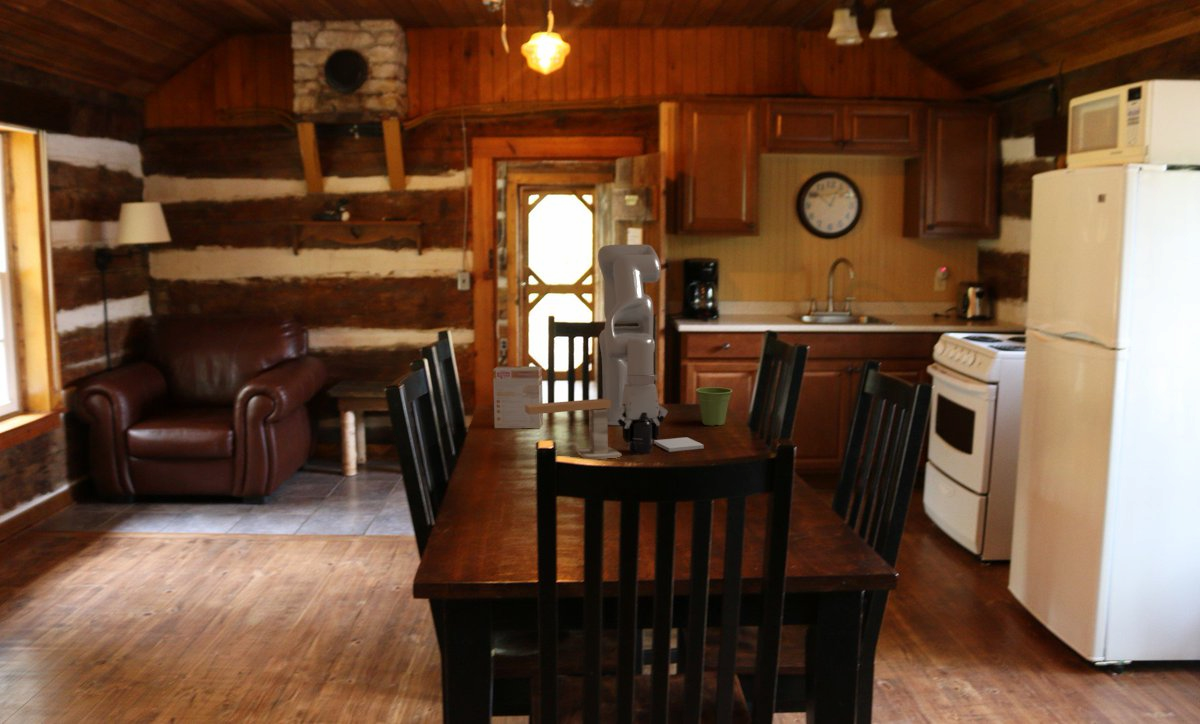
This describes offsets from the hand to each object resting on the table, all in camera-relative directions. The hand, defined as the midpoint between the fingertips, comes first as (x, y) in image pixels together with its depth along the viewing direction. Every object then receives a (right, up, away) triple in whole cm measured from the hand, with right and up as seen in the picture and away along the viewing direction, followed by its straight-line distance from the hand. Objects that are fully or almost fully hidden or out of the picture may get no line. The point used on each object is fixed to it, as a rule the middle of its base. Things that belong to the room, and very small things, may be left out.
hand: (640, 439), depth 286 cm
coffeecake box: (-38, +1, +36) cm, 52 cm away
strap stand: (-12, -4, -4) cm, 13 cm away
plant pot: (+25, +2, +37) cm, 45 cm away
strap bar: (-21, +9, -9) cm, 24 cm away
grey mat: (+11, -2, +7) cm, 14 cm away
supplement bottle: (0, -4, +1) cm, 4 cm away
